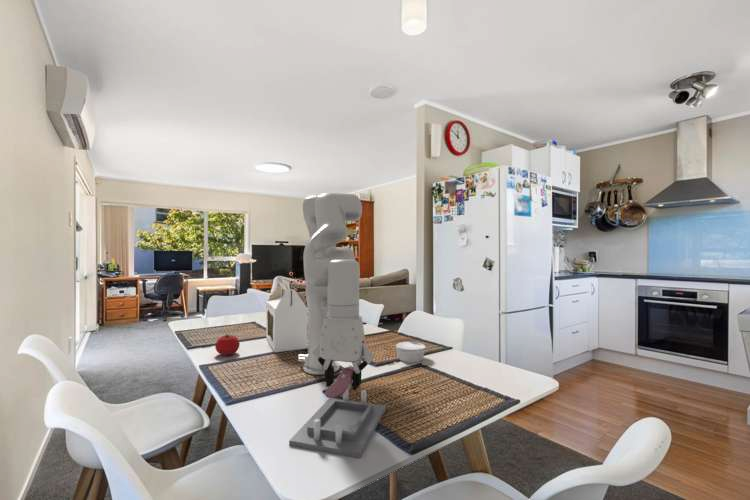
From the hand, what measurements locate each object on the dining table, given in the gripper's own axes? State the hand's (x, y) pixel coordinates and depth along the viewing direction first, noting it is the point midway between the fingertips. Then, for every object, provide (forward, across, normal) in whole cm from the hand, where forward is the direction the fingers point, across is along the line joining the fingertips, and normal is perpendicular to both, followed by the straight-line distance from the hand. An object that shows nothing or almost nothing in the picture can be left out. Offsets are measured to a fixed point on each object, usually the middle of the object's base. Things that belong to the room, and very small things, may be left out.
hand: (342, 385), depth 83 cm
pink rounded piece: (+2, 0, 0) cm, 2 cm away
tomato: (+9, -63, +38) cm, 74 cm away
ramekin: (+10, +7, +54) cm, 55 cm away
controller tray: (+10, 0, 0) cm, 10 cm away
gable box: (+9, -49, +58) cm, 77 cm away
